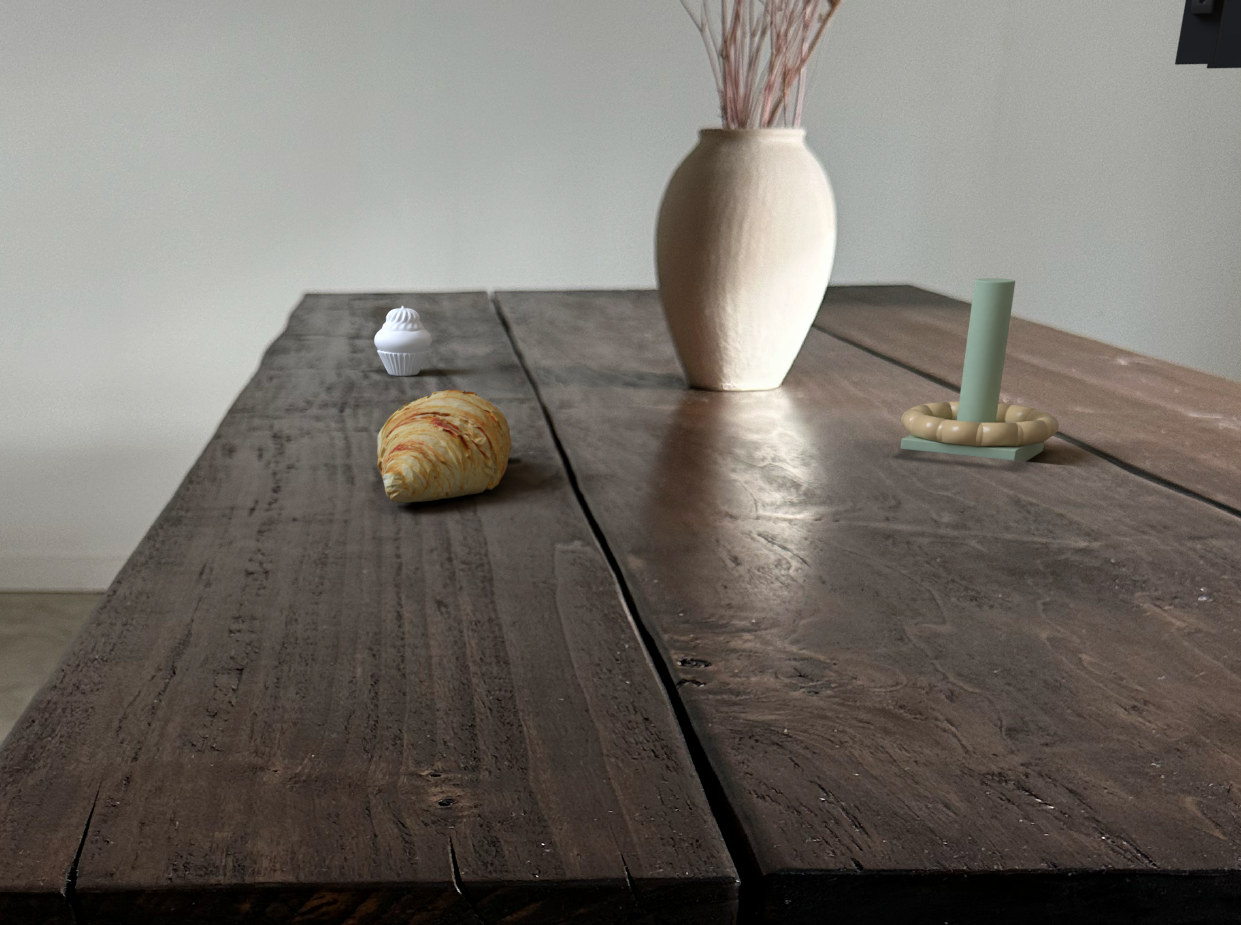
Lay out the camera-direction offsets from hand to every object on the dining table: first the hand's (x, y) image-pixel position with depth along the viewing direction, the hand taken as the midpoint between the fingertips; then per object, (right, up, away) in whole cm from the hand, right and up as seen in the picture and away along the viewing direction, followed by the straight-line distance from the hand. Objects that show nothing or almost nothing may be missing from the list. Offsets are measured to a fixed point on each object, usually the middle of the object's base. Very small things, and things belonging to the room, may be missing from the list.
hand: (1210, 66), depth 126 cm
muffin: (-64, -12, +45) cm, 80 cm away
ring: (-17, -27, +3) cm, 32 cm away
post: (-18, -30, +4) cm, 35 cm away
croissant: (-61, -34, -6) cm, 70 cm away
